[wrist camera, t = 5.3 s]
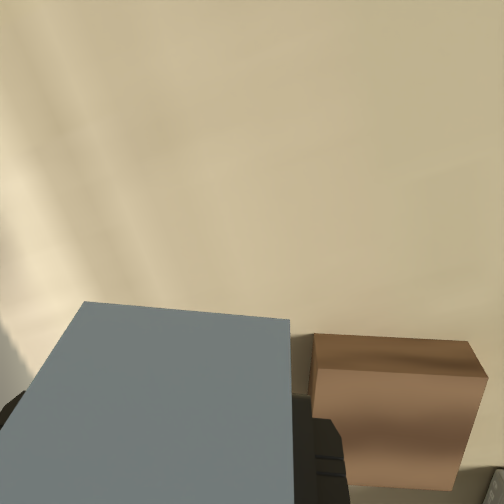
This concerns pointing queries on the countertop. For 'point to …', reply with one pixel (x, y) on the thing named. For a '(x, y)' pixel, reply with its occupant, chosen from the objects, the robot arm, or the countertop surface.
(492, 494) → the skincare box
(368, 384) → the walnut base
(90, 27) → the countertop surface
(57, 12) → the countertop surface
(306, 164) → the countertop surface
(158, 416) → the blue block
